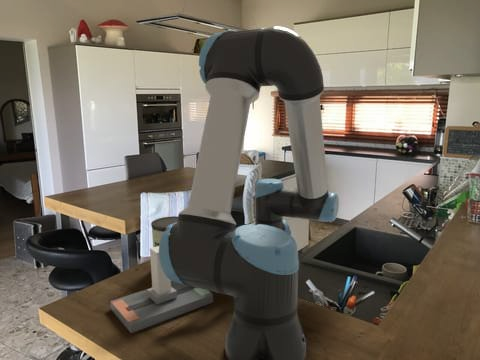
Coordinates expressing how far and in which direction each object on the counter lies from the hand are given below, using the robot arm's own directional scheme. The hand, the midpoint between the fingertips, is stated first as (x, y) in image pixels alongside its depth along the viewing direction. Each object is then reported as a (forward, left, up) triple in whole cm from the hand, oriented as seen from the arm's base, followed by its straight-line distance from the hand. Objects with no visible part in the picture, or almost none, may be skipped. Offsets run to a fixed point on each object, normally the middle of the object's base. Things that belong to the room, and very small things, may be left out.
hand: (166, 264), depth 90 cm
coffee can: (+15, -9, -10) cm, 20 cm away
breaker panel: (-1, +2, -9) cm, 10 cm away
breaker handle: (-1, +2, -7) cm, 7 cm away
